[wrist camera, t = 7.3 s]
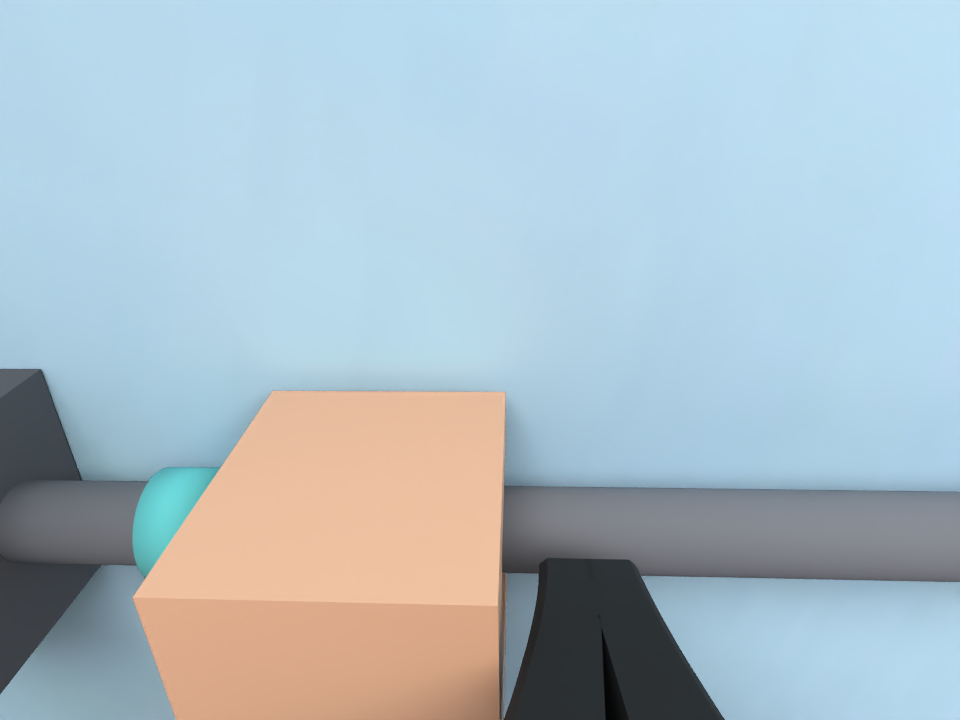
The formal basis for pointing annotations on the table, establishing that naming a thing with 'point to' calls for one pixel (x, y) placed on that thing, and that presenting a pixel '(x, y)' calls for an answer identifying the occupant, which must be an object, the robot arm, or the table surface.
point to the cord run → (526, 526)
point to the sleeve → (342, 565)
